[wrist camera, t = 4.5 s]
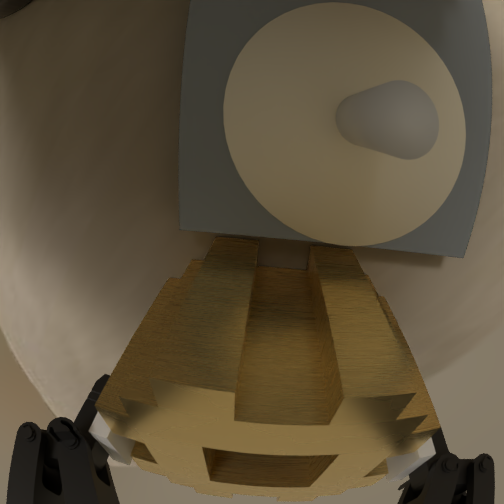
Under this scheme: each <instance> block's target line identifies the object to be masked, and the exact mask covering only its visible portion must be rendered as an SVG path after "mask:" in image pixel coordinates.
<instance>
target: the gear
mask: <svg viewBox="0 0 504 504" xmlns="http://www.w3.org/2000/svg"><path fill="white" fill-rule="evenodd" d="M258 245H259V240H248V239H237V238H225V237H216V238H215V240H214V242H213V244H212V246H211V248H210V250H209V252H208V254H207V256H206V258H205V260H204V261H202V260H192V261H191V262H190V264H189V266H188V267H187V269H186V271H185V273H184V274H183V276H182V278H181V279H177V278H169V279H168V280H167V282H166V283H165V285H164V286H163V288H162V290H161V291H160V293H159V294H158V296H157V297H156V299H155V301H154V302H153V304H152V306H151V307H150V309H149V310H148V312H147V314H146V315H145V317H144V319H143V320H142V322H141V324H140V325H139V327H138V329H137V330H136V332H135V334H134V335H133V337H132V339H131V340H130V342H129V344H128V346H127V347H126V349H125V351H124V353H123V354H122V356H121V358H120V360H119V361H118V363H117V365H116V367H115V368H114V370H113V372H112V374H111V376H110V377H109V379H108V381H107V383H106V385H105V387H104V388H103V390H102V392H101V394H100V396H99V398H98V400H97V402H96V404H95V405H94V406H95V407H96V409H97V410H98V412H99V413H100V415H101V416H102V418H103V419H104V421H105V422H106V424H107V425H108V427H109V428H110V430H111V431H112V432H113V433H115V434H118V435H120V436H123V437H126V438H129V439H133V440H136V442H135V445H134V447H133V450H132V453H131V455H130V456H131V457H132V459H133V460H134V461H135V462H136V464H137V465H138V466H139V467H140V468H141V469H142V470H145V471H149V472H152V473H156V474H159V475H163V476H167V478H168V479H169V481H170V482H171V483H175V484H180V485H184V486H189V487H194V489H195V491H196V492H197V493H201V494H207V495H213V496H220V497H228V498H232V496H233V494H241V495H252V496H253V495H254V496H269V497H277V501H313V500H314V499H315V498H316V497H318V496H326V495H338V494H341V493H343V492H344V491H346V490H347V489H350V488H358V487H365V486H371V485H373V484H375V483H376V482H377V481H379V480H380V479H382V478H383V477H384V476H386V475H387V474H388V467H387V461H386V458H388V457H394V456H399V455H404V454H409V453H413V452H415V451H416V450H417V449H419V448H420V447H421V446H422V445H423V444H424V443H425V442H426V441H427V440H428V439H430V438H431V437H432V436H433V435H434V434H435V433H436V432H437V431H438V430H439V429H440V428H441V427H440V424H439V421H438V418H437V415H436V412H435V410H434V407H433V404H432V401H431V399H430V396H429V394H428V391H427V389H426V386H425V384H424V381H423V379H422V376H421V374H420V372H419V369H418V367H417V364H416V362H415V360H414V358H413V355H412V353H411V351H410V349H409V346H408V344H407V342H406V340H405V338H404V336H403V334H402V332H401V329H400V327H399V325H398V323H397V321H396V319H395V317H394V315H393V313H392V311H391V309H390V307H389V305H388V303H387V301H386V299H385V298H384V296H378V294H377V292H376V290H375V288H374V286H373V284H372V282H371V280H370V278H369V276H368V275H365V274H364V272H363V270H362V268H361V266H360V264H359V262H358V261H357V259H356V257H355V255H354V253H353V251H352V249H344V248H334V247H323V246H313V245H311V249H310V255H309V261H308V267H307V270H298V269H287V268H276V267H265V266H257V258H258Z"/></svg>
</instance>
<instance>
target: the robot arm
mask: <svg viewBox="0 0 504 504" xmlns="http://www.w3.org/2000/svg"><path fill="white" fill-rule="evenodd" d="M30 1H32V0H0V18H2V17H5V16H8V15H10V14H12V13H14V12H16V11H17V10H19V9H20V8H22V7H23V6H25V5H26V4H28V3H29V2H30ZM109 377H110V375H107V374H104V375H103V376H102V377H101V378H100V379H98V380H97V381H96V383H95V385H94V386H93V388H92V391H91V392H90V393H89V395H88V398H87V399H86V401H85V402H84V404H83V406H82V408H81V410H80V412H79V414H78V415H77V417H76V419H75V421H74V423H73V422H72V421H71V420H70V419H68V418H65V417H59V418H55V419H54V420H52V421H51V422H50V423H49V425H48V427H47V430H42V429H40V428H39V427H38V426H37V425H36V424H35V423H33V422H26V423H23V424H22V425H21V426H20V427H19V429H18V431H17V436H16V440H15V445H14V450H13V455H12V461H11V467H10V473H9V481H8V490H7V502H6V504H120V503H119V500H118V497H117V493H116V491H115V487H114V483H113V480H112V476H111V472H110V468H109V464H108V462H107V459H108V456H109V455H110V457H111V458H112V459H113V460H116V461H118V462H121V463H124V464H127V465H130V463H131V460H132V457H131V456H130V455H131V453H132V450H133V447H134V445H135V442H136V440H133V439H129V438H126V437H123V436H120V435H118V434H115V433H113V432H112V431H111V430H110V428H109V427H108V425H107V424H106V422H105V421H104V419H103V418H102V416H101V415H100V413H99V412H98V410H97V409H96V407H95V406H94V405H95V404H96V402H97V400H98V398H99V396H100V394H101V392H102V390H103V388H104V387H105V385H106V383H107V381H108V379H109ZM433 407H434V406H433ZM434 410H435V409H434ZM438 421H439V420H438ZM440 427H441V426H440ZM386 461H387V467H388V474H387V475H386V479H387V482H392V481H397V480H401V479H403V478H405V477H406V476H407V475H409V478H410V479H409V480H408V481H406V482H405V483H404V484H402V485H401V486H400V487H399V488H398V490H401V489H403V488H404V487H405V488H404V490H403V493H402V495H401V497H400V499H399V502H398V504H494V491H495V478H494V462H493V459H492V457H491V456H489V455H488V454H484V453H483V454H480V455H479V456H478V457H476V458H475V459H459V458H458V457H457V456H456V455H454V454H452V453H450V452H449V450H448V448H447V444H446V441H445V438H444V435H443V432H442V429H441V428H440V429H439V430H438V431H437V432H436V433H435V434H434V435H433V436H432V437H431V438H430V439H428V440H427V441H426V442H425V443H424V444H423V445H422V446H421V447H420V448H419V449H417V450H416V451H415V452H413V453H409V454H404V455H399V456H394V457H388V458H386ZM466 490H467V493H466Z"/></svg>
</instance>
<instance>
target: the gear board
mask: <svg viewBox="0 0 504 504" xmlns="http://www.w3.org/2000/svg"><path fill="white" fill-rule="evenodd" d="M491 118H492V68H491V54H490V45H489V37H488V30H487V23H486V18H485V13H484V8H483V3H482V0H190V6H189V13H188V20H187V29H186V37H185V47H184V58H183V69H182V83H181V99H180V121H179V224H180V230H187V231H200V232H212V233H224V234H236V235H247V236H259V237H270V238H281V239H291V240H302V241H312V242H322V243H330V244H336V245H342V246H361V247H371V248H380V249H389V250H398V251H407V252H415V253H424V254H433V255H441V256H449V257H457V258H464V255H465V252H466V249H467V246H468V242H469V239H470V236H471V232H472V229H473V225H474V222H475V218H476V214H477V210H478V206H479V202H480V197H481V193H482V188H483V183H484V177H485V171H486V165H487V158H488V151H489V142H490V132H491Z"/></svg>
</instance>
